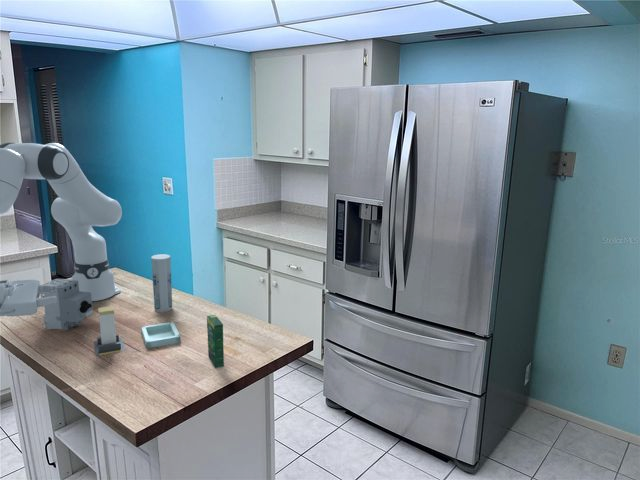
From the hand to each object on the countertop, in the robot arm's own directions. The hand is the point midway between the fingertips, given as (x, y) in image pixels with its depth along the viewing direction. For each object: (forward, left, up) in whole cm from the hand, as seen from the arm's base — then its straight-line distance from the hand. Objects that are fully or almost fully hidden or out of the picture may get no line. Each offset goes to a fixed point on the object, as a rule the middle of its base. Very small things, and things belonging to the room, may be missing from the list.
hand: (57, 293), depth 134 cm
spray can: (-23, +32, -19) cm, 44 cm away
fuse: (+2, +12, -18) cm, 22 cm away
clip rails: (+2, +12, -19) cm, 22 cm away
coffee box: (+23, +39, -19) cm, 49 cm away
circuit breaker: (-19, +2, -19) cm, 27 cm away
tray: (+2, +27, -19) cm, 33 cm away
